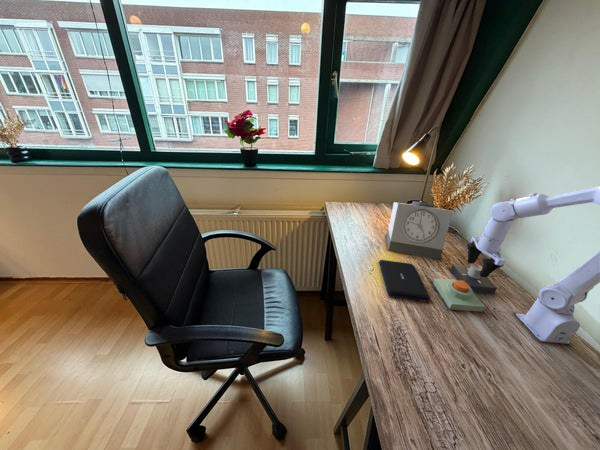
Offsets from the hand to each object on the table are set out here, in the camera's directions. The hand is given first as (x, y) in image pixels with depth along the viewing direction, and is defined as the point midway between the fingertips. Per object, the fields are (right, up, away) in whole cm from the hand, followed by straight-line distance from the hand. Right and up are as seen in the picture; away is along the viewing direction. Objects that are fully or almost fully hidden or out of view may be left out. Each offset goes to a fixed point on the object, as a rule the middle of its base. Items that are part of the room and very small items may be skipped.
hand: (476, 269), depth 86 cm
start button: (-10, -5, -7) cm, 14 cm away
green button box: (-11, -8, -5) cm, 14 cm away
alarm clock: (-13, +7, +22) cm, 27 cm away
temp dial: (0, -2, +1) cm, 3 cm away
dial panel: (0, -5, +2) cm, 5 cm away
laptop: (-26, -4, 0) cm, 27 cm away
